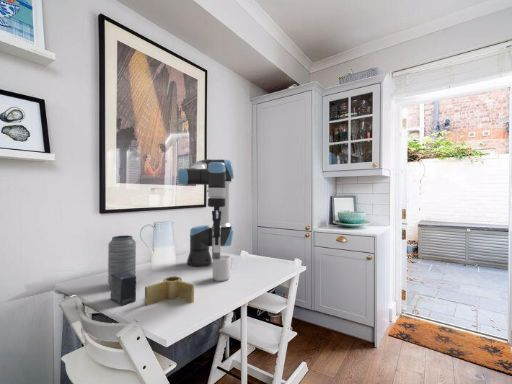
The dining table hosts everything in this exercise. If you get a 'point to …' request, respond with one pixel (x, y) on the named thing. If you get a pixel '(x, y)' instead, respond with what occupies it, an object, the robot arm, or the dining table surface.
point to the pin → (214, 255)
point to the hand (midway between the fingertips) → (216, 251)
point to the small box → (123, 288)
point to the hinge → (169, 290)
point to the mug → (222, 268)
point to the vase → (121, 255)
